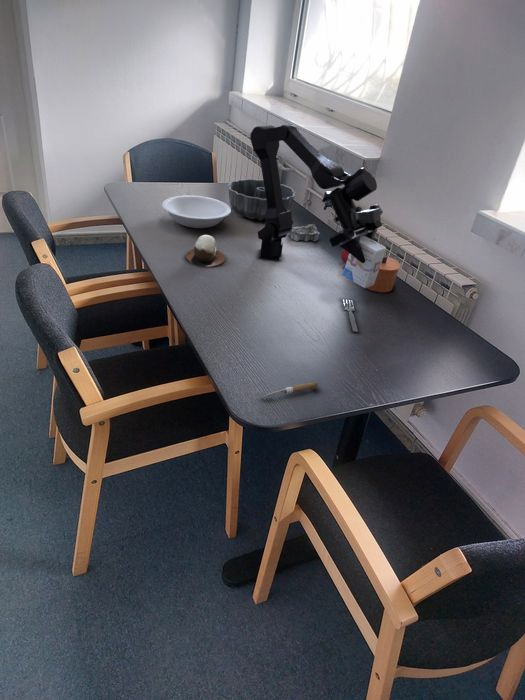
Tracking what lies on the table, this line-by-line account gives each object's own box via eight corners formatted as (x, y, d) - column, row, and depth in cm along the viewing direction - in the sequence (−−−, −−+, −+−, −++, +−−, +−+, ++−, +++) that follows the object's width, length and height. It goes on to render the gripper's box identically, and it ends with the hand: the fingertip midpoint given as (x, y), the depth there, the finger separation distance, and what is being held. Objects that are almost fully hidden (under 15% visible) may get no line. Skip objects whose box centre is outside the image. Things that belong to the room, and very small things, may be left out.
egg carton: (314, 234, 180) (316, 223, 177) (319, 242, 174) (322, 231, 171) (286, 233, 177) (288, 222, 175) (291, 241, 171) (293, 230, 169)
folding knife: (260, 403, 97) (261, 396, 96) (257, 398, 98) (258, 391, 97) (318, 391, 103) (319, 383, 102) (314, 386, 104) (316, 379, 103)
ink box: (341, 275, 140) (352, 237, 133) (351, 272, 143) (363, 234, 137) (364, 288, 136) (377, 250, 129) (374, 285, 139) (387, 247, 132)
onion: (355, 270, 157) (361, 247, 152) (338, 267, 157) (343, 244, 153) (356, 263, 162) (362, 241, 157) (339, 260, 162) (344, 238, 158)
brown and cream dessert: (189, 243, 156) (211, 224, 151) (211, 268, 159) (233, 250, 154) (177, 256, 146) (201, 236, 141) (201, 282, 149) (224, 263, 144)
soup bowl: (241, 232, 172) (243, 214, 168) (180, 240, 160) (181, 221, 156) (209, 210, 188) (210, 193, 184) (151, 215, 175) (150, 197, 171)
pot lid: (367, 270, 142) (369, 261, 140) (361, 255, 151) (364, 246, 149) (403, 275, 142) (405, 265, 140) (395, 260, 151) (398, 251, 149)
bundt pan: (216, 202, 196) (218, 177, 190) (275, 202, 206) (278, 178, 200) (239, 227, 176) (242, 200, 171) (303, 224, 187) (307, 199, 181)
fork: (360, 333, 125) (360, 331, 124) (349, 331, 125) (350, 330, 124) (352, 301, 139) (352, 299, 138) (342, 300, 139) (342, 298, 138)
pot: (362, 290, 146) (368, 268, 142) (358, 275, 154) (363, 254, 150) (395, 294, 146) (402, 272, 142) (389, 279, 154) (395, 258, 150)
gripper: (348, 200, 122) (374, 256, 123) (385, 190, 134) (408, 241, 135) (317, 220, 130) (342, 272, 131) (354, 208, 142) (377, 256, 143)
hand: (368, 260), depth 135 cm, fingers closed on ink box, 5 cm apart
